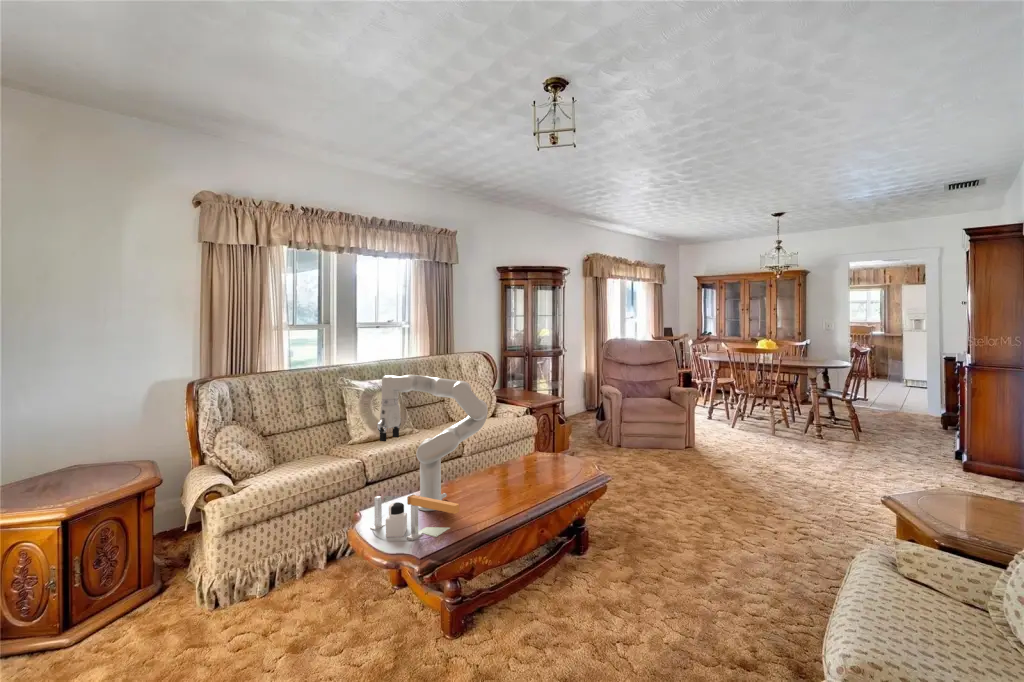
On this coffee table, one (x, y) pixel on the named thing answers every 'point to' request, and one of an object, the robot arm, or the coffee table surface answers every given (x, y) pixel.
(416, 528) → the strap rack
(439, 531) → the coaster
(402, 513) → the medicine bottle
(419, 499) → the bar
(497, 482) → the coffee table surface
